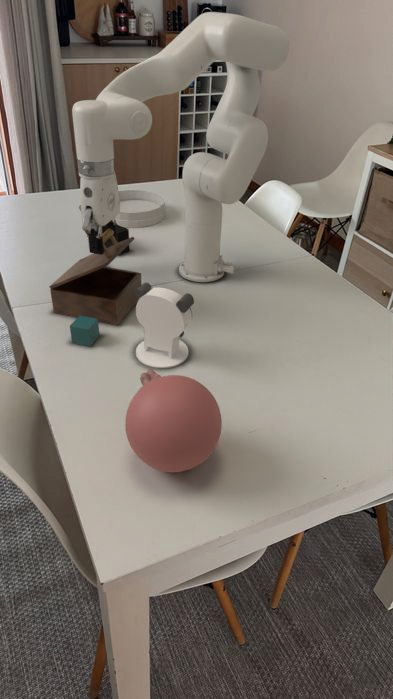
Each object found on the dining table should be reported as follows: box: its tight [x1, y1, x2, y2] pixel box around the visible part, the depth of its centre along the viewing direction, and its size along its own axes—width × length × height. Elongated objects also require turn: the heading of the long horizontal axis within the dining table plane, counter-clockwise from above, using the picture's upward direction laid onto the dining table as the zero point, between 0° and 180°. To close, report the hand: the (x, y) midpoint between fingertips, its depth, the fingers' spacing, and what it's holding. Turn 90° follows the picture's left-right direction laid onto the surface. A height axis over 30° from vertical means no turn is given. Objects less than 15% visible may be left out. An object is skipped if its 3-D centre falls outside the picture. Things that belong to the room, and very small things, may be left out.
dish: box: [115, 189, 166, 229], centre depth 172 cm, size 22×22×5 cm
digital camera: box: [104, 223, 131, 256], centre depth 150 cm, size 10×5×7 cm, turn 50°
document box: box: [49, 266, 143, 326], centre depth 124 cm, size 17×15×6 cm
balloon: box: [124, 368, 223, 473], centre depth 83 cm, size 15×20×15 cm
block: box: [69, 315, 100, 347], centre depth 112 cm, size 4×4×4 cm
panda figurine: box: [135, 282, 195, 369], centre depth 105 cm, size 12×11×15 cm
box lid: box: [48, 229, 135, 289], centre depth 118 cm, size 17×15×5 cm
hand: (103, 246), depth 116 cm, fingers closed on box lid, 6 cm apart
